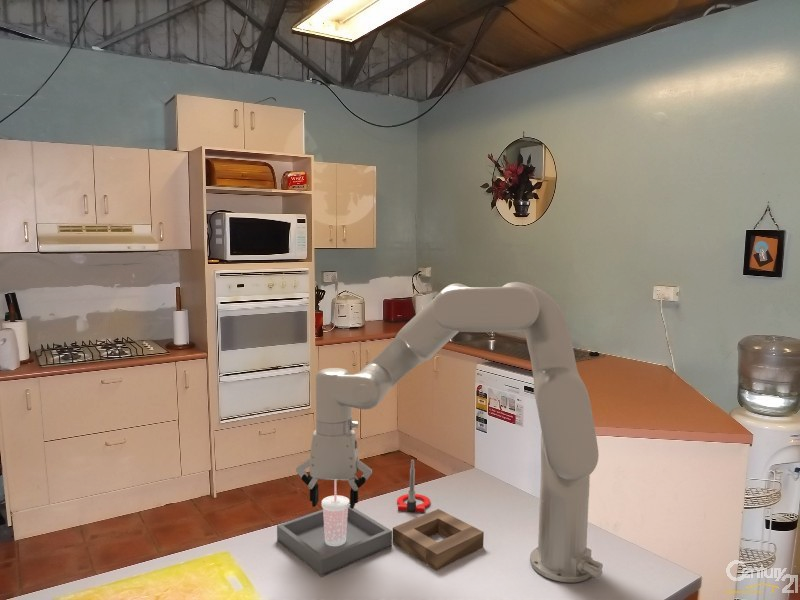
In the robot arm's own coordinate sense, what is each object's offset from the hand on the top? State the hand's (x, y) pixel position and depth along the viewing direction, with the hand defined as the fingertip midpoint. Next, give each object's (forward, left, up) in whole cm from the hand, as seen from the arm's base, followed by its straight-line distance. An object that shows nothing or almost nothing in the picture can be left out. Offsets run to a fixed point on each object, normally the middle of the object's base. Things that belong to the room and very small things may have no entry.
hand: (334, 504), depth 126 cm
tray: (0, 0, -9) cm, 9 cm away
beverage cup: (0, 0, -8) cm, 8 cm away
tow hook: (+3, -26, -9) cm, 28 cm away
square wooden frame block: (-15, -17, -9) cm, 24 cm away
